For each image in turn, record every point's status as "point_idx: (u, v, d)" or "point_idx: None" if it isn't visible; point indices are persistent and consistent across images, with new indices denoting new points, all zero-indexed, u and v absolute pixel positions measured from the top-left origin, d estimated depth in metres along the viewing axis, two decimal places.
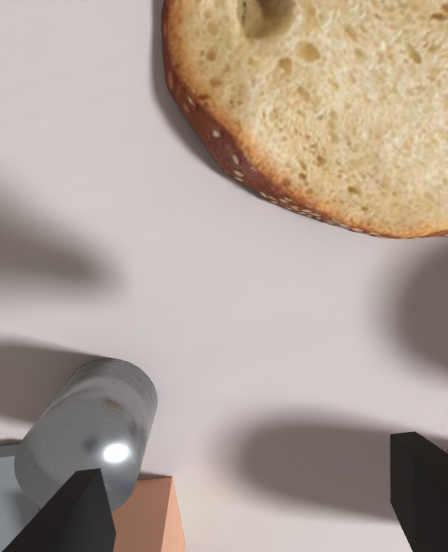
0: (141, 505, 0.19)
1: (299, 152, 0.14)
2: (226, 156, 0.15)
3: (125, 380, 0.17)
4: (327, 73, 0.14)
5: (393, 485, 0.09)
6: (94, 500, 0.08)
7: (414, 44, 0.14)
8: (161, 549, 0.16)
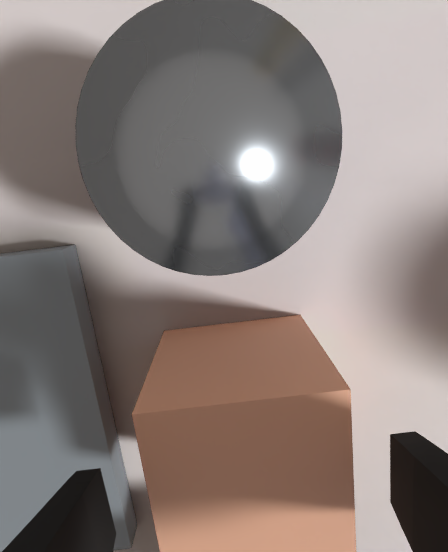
0: (267, 339, 0.11)
1: None
2: None
3: None
4: None
5: (393, 486, 0.09)
6: (94, 500, 0.08)
7: None
8: (339, 376, 0.09)
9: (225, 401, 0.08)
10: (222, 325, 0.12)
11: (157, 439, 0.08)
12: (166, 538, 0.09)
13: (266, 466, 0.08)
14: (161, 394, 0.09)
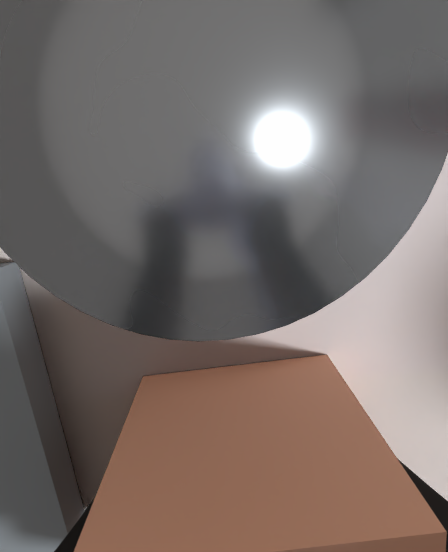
0: (287, 401, 0.08)
1: None
2: None
3: None
4: None
5: None
6: None
7: None
8: (415, 490, 0.05)
9: (227, 550, 0.05)
10: (222, 372, 0.09)
11: None
12: None
13: None
14: (122, 522, 0.05)
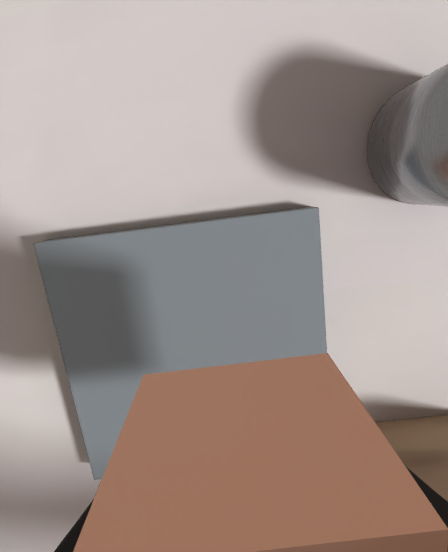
0: (287, 398, 0.08)
1: None
2: None
3: None
4: None
5: None
6: None
7: None
8: (417, 488, 0.05)
9: (229, 547, 0.05)
10: (222, 370, 0.09)
11: None
12: None
13: None
14: (122, 519, 0.05)
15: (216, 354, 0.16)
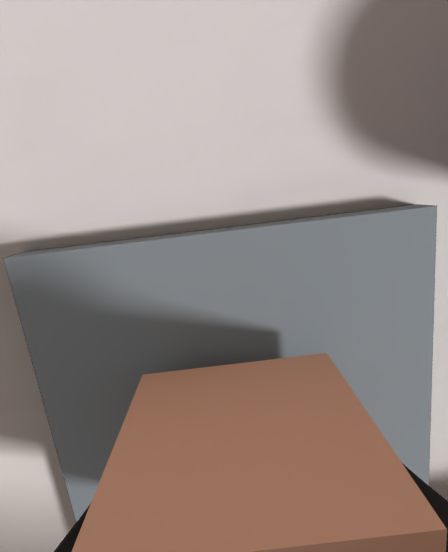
0: (287, 399, 0.08)
1: None
2: None
3: None
4: None
5: None
6: None
7: None
8: (415, 488, 0.05)
9: (227, 547, 0.05)
10: (222, 370, 0.09)
11: None
12: None
13: None
14: (121, 519, 0.05)
15: None
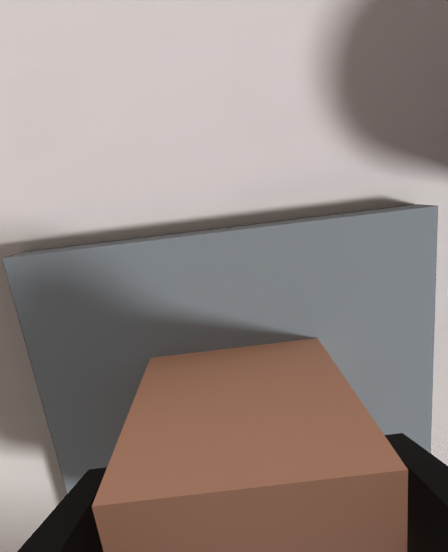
0: (280, 375, 0.08)
1: None
2: None
3: None
4: None
5: None
6: None
7: None
8: (386, 442, 0.06)
9: (227, 485, 0.06)
10: (222, 353, 0.10)
11: (130, 539, 0.06)
12: None
13: None
14: (137, 468, 0.06)
15: None
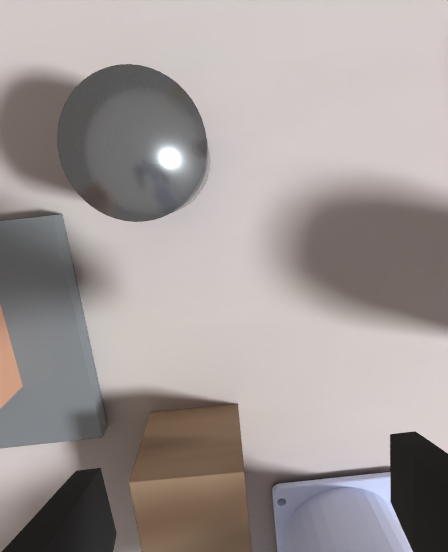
0: None
1: None
2: None
3: None
4: None
5: (393, 485, 0.09)
6: (94, 500, 0.08)
7: None
8: None
9: None
10: None
11: None
12: None
13: None
14: None
15: None
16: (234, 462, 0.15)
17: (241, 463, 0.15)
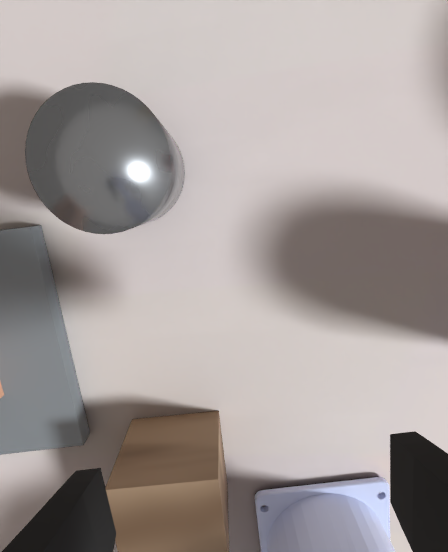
0: None
1: None
2: None
3: None
4: None
5: (393, 485, 0.09)
6: (94, 500, 0.08)
7: None
8: None
9: None
10: None
11: None
12: None
13: None
14: None
15: None
16: (210, 469, 0.16)
17: (216, 470, 0.16)
